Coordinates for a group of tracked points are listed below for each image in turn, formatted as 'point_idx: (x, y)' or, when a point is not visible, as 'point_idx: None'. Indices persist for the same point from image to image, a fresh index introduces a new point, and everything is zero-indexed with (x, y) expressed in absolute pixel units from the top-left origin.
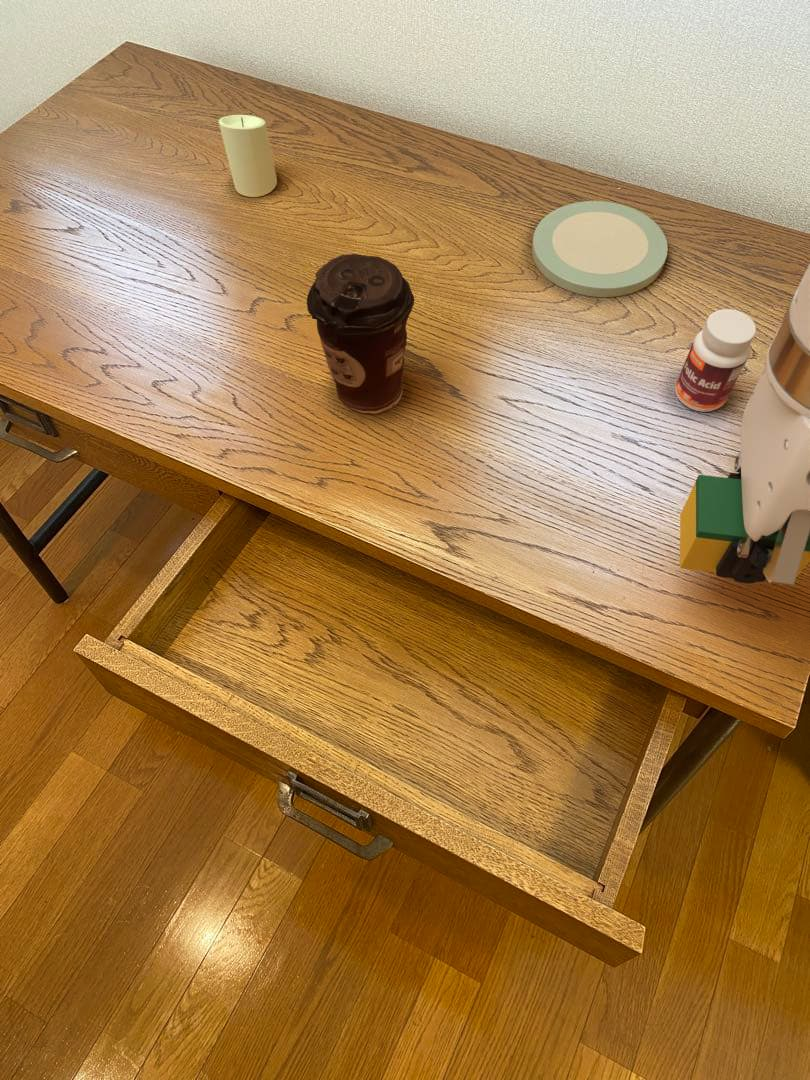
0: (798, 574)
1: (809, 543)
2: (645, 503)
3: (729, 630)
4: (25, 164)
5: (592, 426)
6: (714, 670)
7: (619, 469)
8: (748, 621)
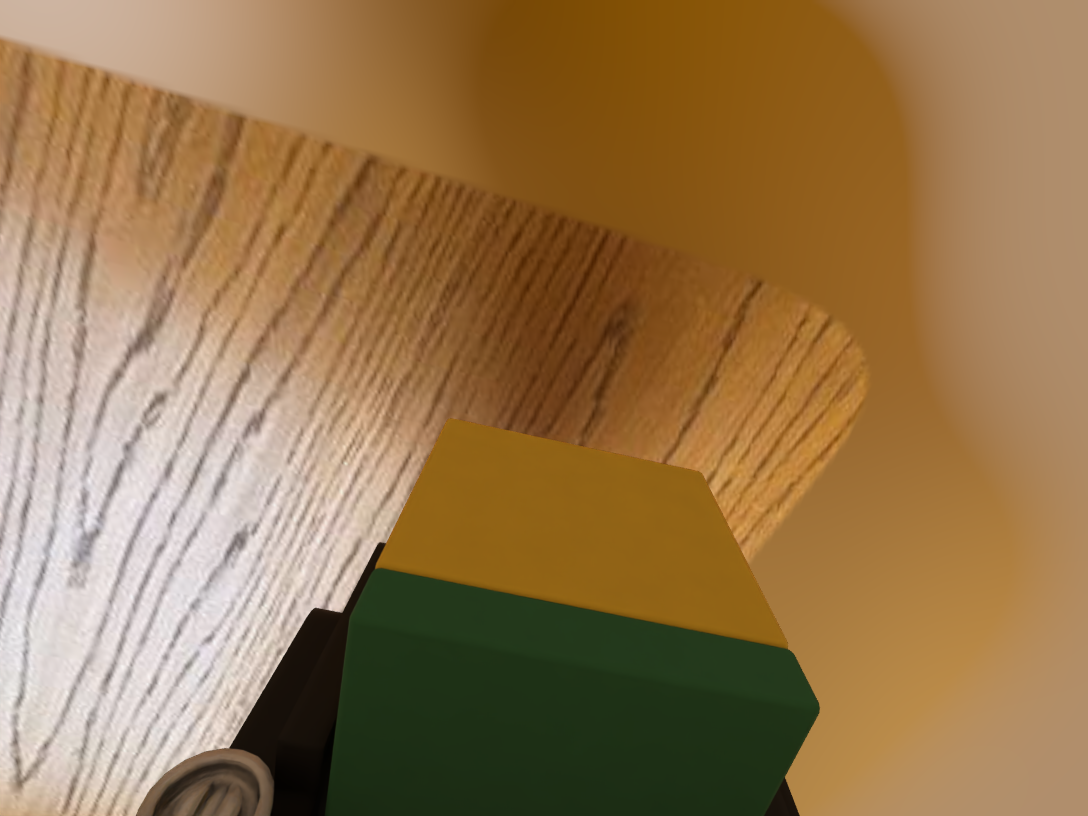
0: (717, 507)
1: (786, 763)
2: (285, 548)
3: (652, 433)
4: None
5: (57, 624)
6: (749, 490)
7: (186, 587)
8: (633, 382)
